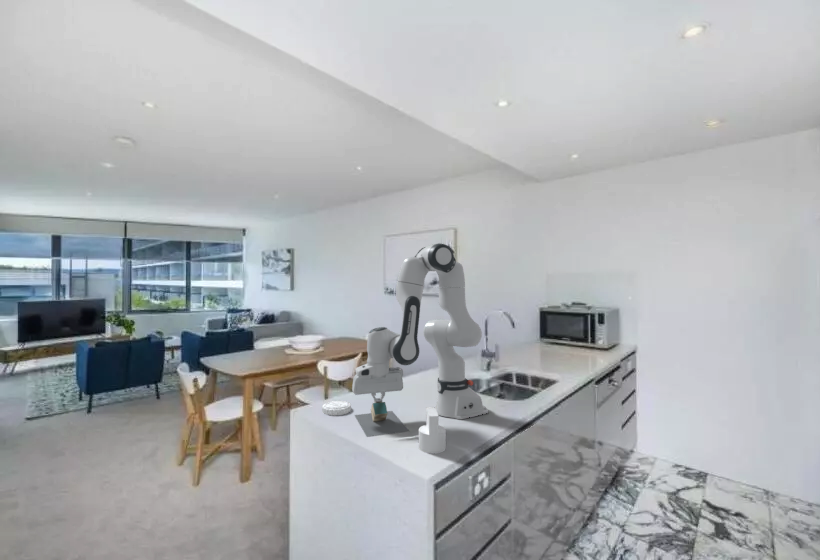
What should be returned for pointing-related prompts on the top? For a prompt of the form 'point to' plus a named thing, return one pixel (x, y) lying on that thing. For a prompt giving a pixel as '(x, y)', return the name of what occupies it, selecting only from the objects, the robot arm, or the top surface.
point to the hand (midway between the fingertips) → (378, 403)
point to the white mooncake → (336, 408)
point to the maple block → (379, 411)
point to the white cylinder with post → (432, 433)
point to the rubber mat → (381, 424)
